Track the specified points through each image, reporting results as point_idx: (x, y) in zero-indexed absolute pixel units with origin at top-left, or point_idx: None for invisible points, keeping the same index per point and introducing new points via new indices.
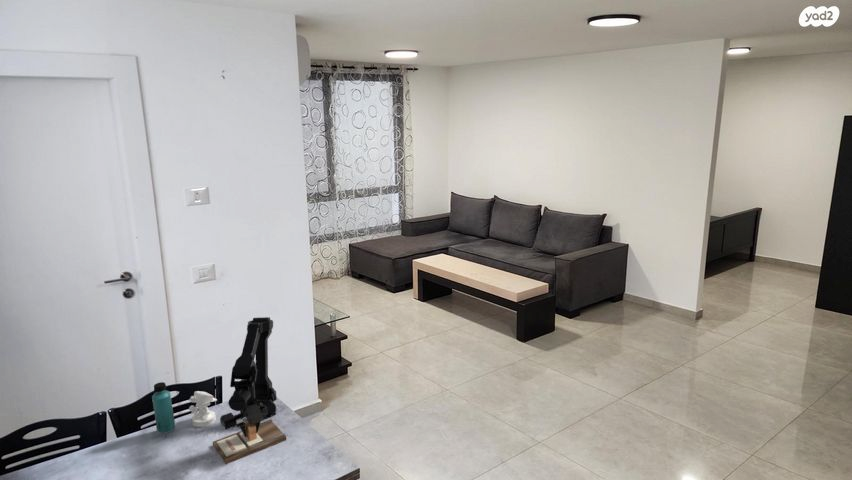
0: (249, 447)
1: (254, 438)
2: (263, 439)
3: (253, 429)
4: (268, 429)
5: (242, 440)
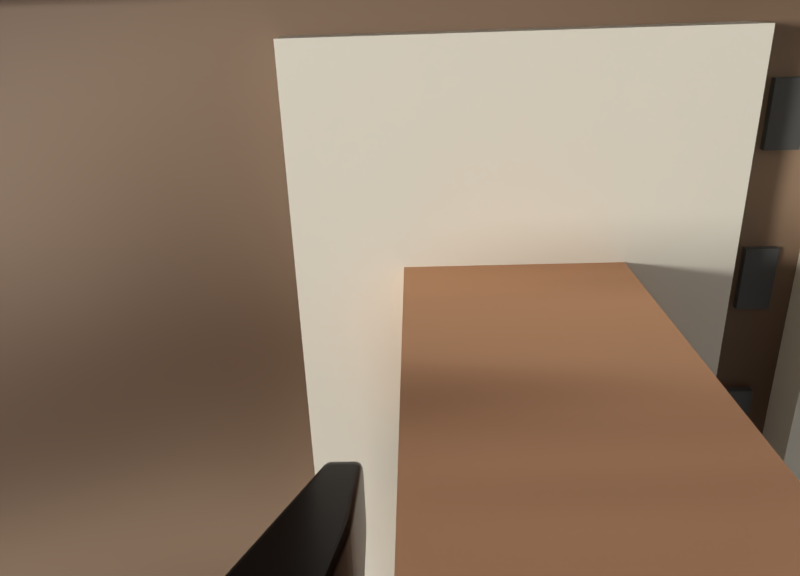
0: (748, 16)
1: (486, 275)
2: (236, 167)
3: (549, 505)
4: (12, 507)
5: None
